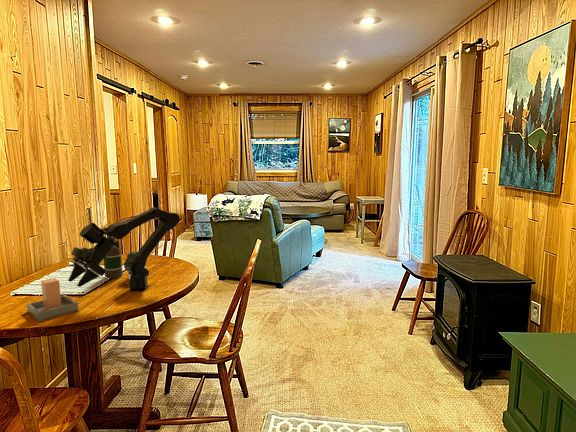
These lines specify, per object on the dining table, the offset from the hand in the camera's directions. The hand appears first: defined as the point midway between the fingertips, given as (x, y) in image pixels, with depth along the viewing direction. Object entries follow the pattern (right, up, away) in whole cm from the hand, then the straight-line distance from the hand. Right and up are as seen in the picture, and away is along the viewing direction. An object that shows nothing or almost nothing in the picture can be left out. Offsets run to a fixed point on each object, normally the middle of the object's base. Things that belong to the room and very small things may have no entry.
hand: (73, 283), depth 153 cm
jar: (+11, -4, +36) cm, 38 cm away
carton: (-5, -9, -4) cm, 11 cm away
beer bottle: (-1, -3, +37) cm, 38 cm away
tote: (-5, -10, -4) cm, 12 cm away
